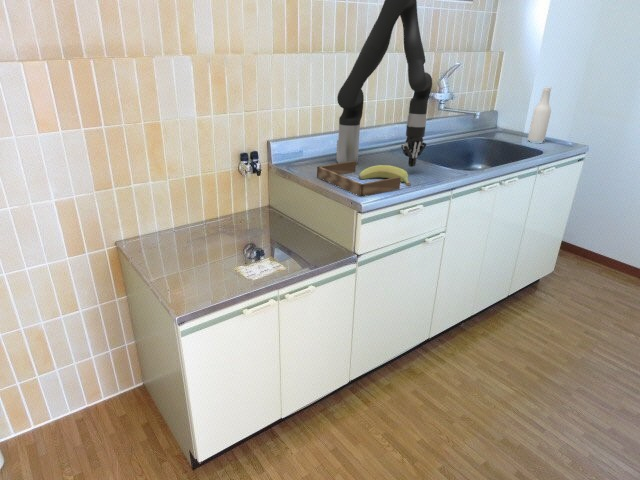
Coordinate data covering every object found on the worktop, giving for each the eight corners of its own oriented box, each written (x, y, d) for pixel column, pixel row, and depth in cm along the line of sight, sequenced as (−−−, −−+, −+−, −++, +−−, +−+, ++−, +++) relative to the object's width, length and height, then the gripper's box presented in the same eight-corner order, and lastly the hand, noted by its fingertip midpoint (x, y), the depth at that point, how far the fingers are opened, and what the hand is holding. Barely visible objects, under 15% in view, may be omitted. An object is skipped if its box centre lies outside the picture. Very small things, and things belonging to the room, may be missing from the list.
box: (316, 177, 184) (317, 166, 183) (353, 171, 194) (354, 160, 193) (360, 197, 163) (361, 184, 162) (399, 188, 173) (400, 177, 172)
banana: (378, 156, 190) (418, 172, 178) (377, 168, 193) (417, 184, 182) (357, 170, 182) (398, 187, 171) (357, 182, 186) (397, 199, 175)
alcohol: (527, 142, 259) (539, 87, 246) (526, 139, 266) (537, 85, 254) (544, 144, 256) (557, 88, 244) (542, 141, 264) (555, 86, 252)
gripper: (421, 121, 192) (416, 162, 199) (397, 124, 185) (393, 166, 192) (434, 124, 187) (429, 166, 194) (411, 127, 180) (406, 170, 187)
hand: (411, 166), depth 193 cm, fingers closed
